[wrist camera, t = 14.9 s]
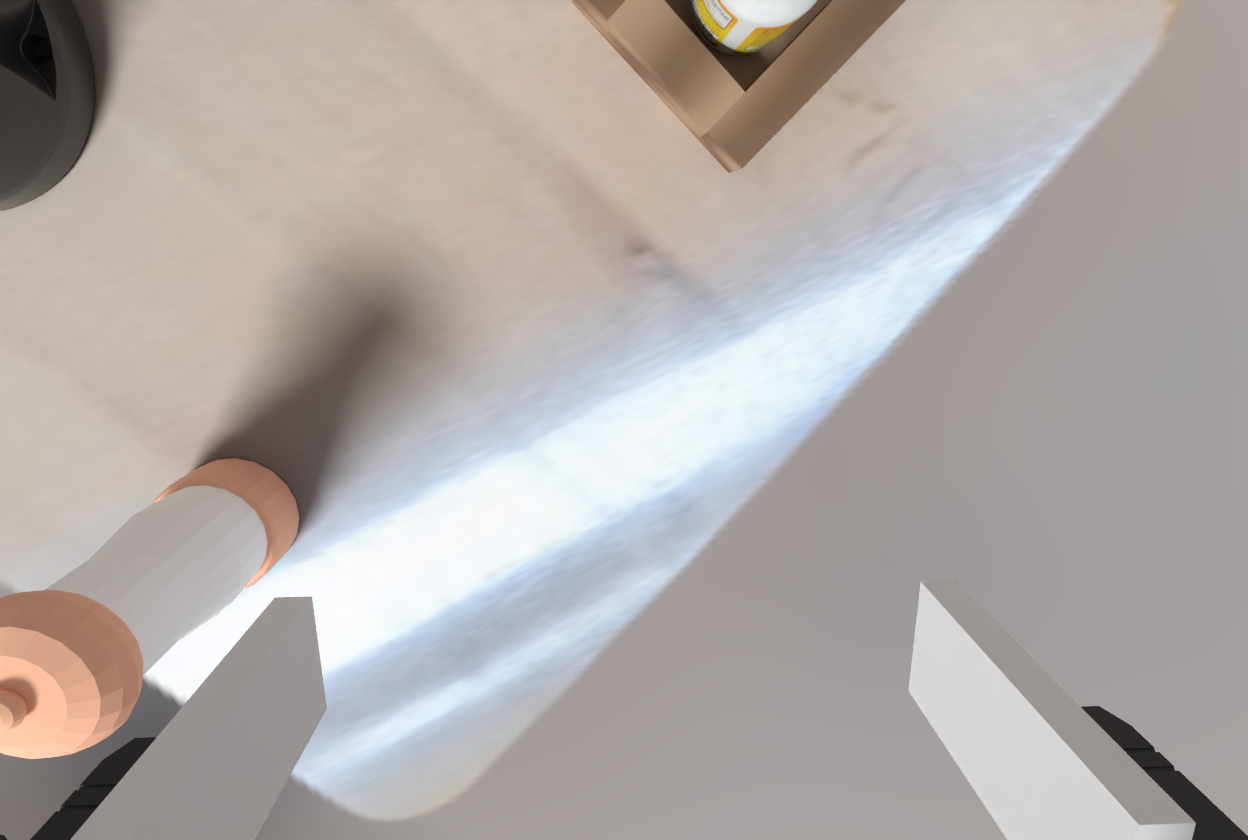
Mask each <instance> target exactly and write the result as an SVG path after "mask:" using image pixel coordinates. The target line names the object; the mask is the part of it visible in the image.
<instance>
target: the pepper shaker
mask: <svg viewBox="0 0 1248 840" xmlns="http://www.w3.org/2000/svg"><path fill="white" fill-rule="evenodd" d="M299 518H300V517H299V512H298V508H297V503H296V500H295V498H294V496H293V495H292V493H291V491H290V489H289V488H288V486H287V484H286V483H285V482H284V481H282V480H281V479H280V478H279V477H278V476H277V475H276V474H275V473H274V472H273V471H271V470H269V469H267V468H265V467H264V466H262V465H260V464H258V463H256V462H252V461H247V460H243V459H238V458H230V459H219V460H215V461H212V462H210V463H208V464H205V465H203V466H201V467H199V468H197V469H195V470H194V471H192V472H191V473H189V474H187V475H186V476H184V477H183V478H181V479H180V480H178V481H176V482H175V483H173V484H172V485H170V486H169V487H168V488H167V489H165V490H164V491H163V492H162V493H161V494H160V495H159V496H158V497H157V498H156V499H155V501H154V503H153V505H151V506H149V507H148V508H146V509H144V510H142V511H141V512H139V513H137V514H136V515H134V516H133V517H131V518H130V519H129V520H128V521H127V522H126V523H125V524H124V525H123V526H122V527H121V528H120V529H119V530H118V531H117V532H116V533H115V534H114V535H113V536H112V537H111V538H110V539H109V540H108V541H107V542H106V543H105V544H104V545H103V546H102V547H101V548H100V549H99V550H98V551H97V552H96V553H95V554H94V555H93V556H92V557H91V558H90V559H89V560H88V561H86V562H85V563H84V564H82V565H81V566H79V567H78V568H76V569H75V570H73V571H72V572H70V573H69V574H68V575H66V576H65V577H63V578H62V579H60V580H59V581H57V582H56V583H54V584H53V585H52V586H50V587H49V588H47V589H46V590H43V591H32V592H21V593H16V594H12V595H8V596H5V597H3V598H1V599H0V752H1V753H4V754H6V755H10V756H16V757H22V758H29V759H36V758H37V759H38V758H48V757H57V756H62V755H68V754H73V753H75V752H78V751H80V750H83V749H85V748H88V747H90V746H93V745H95V744H97V743H98V742H100V741H101V740H103V739H105V738H106V737H108V736H110V735H111V734H112V733H113V732H114V731H115V730H116V729H118V728H119V727H120V726H121V725H122V724H123V723H124V722H126V721H127V719H128V717H129V715H130V713H131V711H132V709H133V707H134V705H135V703H136V701H137V699H138V697H139V694H140V692H141V687H142V679H143V675H144V674H145V673H146V672H147V671H148V670H149V669H150V668H151V667H152V666H153V665H154V664H155V663H156V662H157V661H158V660H159V659H160V658H161V657H162V656H163V655H164V654H165V653H166V652H167V651H168V650H169V649H170V648H171V647H172V646H173V645H174V644H175V643H176V642H177V641H179V640H180V639H182V638H183V637H185V636H186V635H188V634H189V633H191V632H192V631H194V630H195V629H197V628H198V627H199V626H201V625H202V624H204V623H205V622H207V621H208V620H210V619H211V618H213V617H214V616H216V615H217V614H219V613H220V612H221V611H222V610H223V609H224V608H226V607H227V606H228V605H229V604H230V603H231V602H232V601H233V600H234V599H235V598H236V597H237V595H238V594H239V593H240V592H241V591H242V590H243V589H244V588H247V587H249V586H251V585H254V584H255V583H256V582H257V581H258V580H259V579H261V578H262V577H263V576H264V575H265V574H266V573H267V572H268V571H269V570H270V569H271V568H272V567H273V566H274V565H275V564H276V563H277V562H278V560H279V559H280V558H281V557H282V556H283V555H284V554H285V553H286V552H287V551H288V550H289V549H290V547H291V545H292V543H293V541H294V539H295V537H296V536H297V533H298V525H299Z"/></svg>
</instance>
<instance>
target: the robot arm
mask: <svg viewBox="0 0 1248 840" xmlns="http://www.w3.org/2000/svg"><path fill="white" fill-rule="evenodd" d="M93 106H94V75H93V67H92V61H91V56H90V52H89V48H88V44H87V40H86V37H85V34H84V31H83V29H82V26H81V24H80V21H79V19H78V16H77V14H76V12H75V10H74V8H73V6H72V4H71V2H70V0H0V211H2V210H6V209H10V208H14V207H17V206H20V205H23V204H25V203H27V202H30V201H32V200H34V199H35V198H37V197H39V196H41V195H42V194H44V193H45V192H47V191H48V190H49V189H51V188H52V187H53V186H54V185H55V184H57V183H58V182H59V181H60V180H61V179H62V178H63V177H64V175H65V174H66V173H67V172H68V171H69V169H70V168H71V167H72V165H73V164H74V162H75V161H76V159H77V157H78V155H79V154H80V152H81V150H82V148H83V145H84V143H85V140H86V138H87V135H88V132H89V128H90V124H91V120H92V114H93ZM909 692H910V694H911V695H912V697H913V698H914V700H915V701H916V703H917V704H918V706H919V707H920V709H921V710H922V711H923V713H924V715H925V716H926V718H927V719H928V721H929V722H930V724H931V725H932V727H933V728H934V730H935V731H936V733H937V734H938V736H939V737H940V739H941V740H942V742H943V744H944V745H945V747H946V748H947V749H948V751H949V753H950V754H951V756H952V757H953V758H954V760H955V762H956V763H957V765H958V766H959V768H960V769H961V771H962V772H963V773H964V775H965V777H966V778H967V780H968V781H969V783H970V784H971V786H972V787H973V789H974V790H975V792H976V793H977V795H978V796H979V798H980V799H981V801H982V802H983V803H984V805H985V807H986V808H987V810H988V811H989V813H990V814H991V816H992V817H993V819H994V820H995V822H996V823H997V825H998V826H999V828H1000V829H1001V831H1002V832H1003V834H1004V835H1005V837H1006V838H1007V840H1248V836H1247V835H1246V834H1245V833H1244V832H1243V831H1242V830H1241V829H1240V828H1239V827H1238V826H1236V825H1235V824H1234V823H1233V822H1232V821H1231V820H1230V819H1229V818H1228V817H1227V816H1226V815H1225V814H1224V813H1223V812H1222V811H1221V810H1220V809H1218V807H1216V806H1215V805H1214V804H1213V803H1212V802H1211V801H1210V800H1209V799H1208V798H1207V797H1206V796H1205V795H1204V794H1203V793H1202V792H1201V791H1200V790H1198V789H1197V788H1196V787H1195V786H1194V785H1193V784H1192V783H1191V782H1190V781H1189V780H1188V779H1187V778H1186V777H1185V776H1184V775H1183V774H1182V773H1180V772H1179V771H1175V770H1174V766H1173V765H1172V764H1171V763H1170V762H1169V761H1168V760H1167V759H1166V758H1164V756H1163V755H1161V754H1160V753H1159V752H1155V750H1154V747H1153V746H1152V745H1151V744H1150V743H1149V742H1148V741H1147V740H1146V739H1144V738H1143V737H1142V736H1141V735H1140V734H1139V733H1138V732H1137V731H1136V730H1135V729H1134V728H1133V727H1132V726H1131V725H1129V724H1128V723H1126V722H1124V721H1123V720H1121V719H1119V718H1117V717H1116V716H1114V715H1113V714H1111V713H1109V712H1108V711H1106V710H1104V709H1102V708H1101V707H1099V706H1092V707H1090V706H1089V707H1080V706H1079V705H1078V704H1077V703H1076V702H1075V701H1074V700H1073V699H1072V698H1071V697H1070V696H1069V695H1068V694H1067V693H1066V692H1065V691H1064V690H1063V689H1062V688H1061V687H1060V686H1059V685H1058V684H1057V683H1056V682H1055V681H1054V680H1053V679H1052V678H1051V677H1050V676H1049V675H1048V674H1047V673H1046V672H1045V671H1044V670H1043V669H1042V668H1041V667H1040V666H1039V665H1038V664H1037V663H1036V662H1035V661H1034V660H1033V659H1032V658H1031V657H1030V656H1029V655H1028V654H1027V653H1026V652H1025V651H1024V650H1023V649H1022V647H1021V646H1020V645H1019V644H1018V643H1016V641H1014V639H1013V638H1011V636H1010V635H1009V634H1008V633H1006V632H1005V631H1004V629H1003V628H1002V627H1001V626H1000V625H999V624H998V623H997V622H996V621H995V620H994V619H993V618H992V617H991V616H990V615H989V614H988V613H987V612H986V611H985V610H984V609H983V608H982V607H981V606H980V605H979V604H978V603H977V602H976V601H975V600H974V599H973V598H972V597H971V596H970V595H969V594H968V593H967V592H966V591H965V590H964V589H963V588H962V587H961V586H960V585H959V584H958V583H957V582H956V581H934V582H921V585H920V594H919V603H918V612H917V621H916V630H915V638H914V648H913V657H912V665H911V674H910V684H909ZM326 709H327V707H326V699H325V692H324V685H323V677H322V670H321V662H320V655H319V647H318V640H317V633H316V625H315V618H314V610H313V603H312V597H283V598H274V600H273V601H272V602H271V603H270V604H269V605H268V607H267V608H266V609H265V610H264V611H263V613H262V614H261V615H260V616H259V617H258V618H257V620H256V621H255V622H254V623H253V624H252V626H251V627H250V628H249V629H248V630H247V631H246V633H245V634H244V635H243V636H242V637H241V639H240V640H239V641H238V642H237V643H236V644H235V646H234V647H233V648H232V649H231V650H230V652H229V653H228V654H227V655H226V656H225V657H224V659H223V660H222V661H221V662H220V663H219V665H218V666H217V667H216V668H215V669H214V670H213V672H212V673H211V674H210V675H209V676H208V678H207V679H206V680H205V681H204V682H203V683H202V685H201V686H200V687H199V688H198V689H197V691H196V692H195V693H194V694H193V695H192V696H191V698H190V699H189V700H188V701H187V702H186V704H185V705H184V706H183V707H182V708H181V709H180V711H179V712H178V713H177V714H176V715H175V717H174V718H173V719H172V720H171V722H169V724H168V725H167V726H166V727H165V728H164V730H163V731H162V732H161V733H160V734H159V735H158V737H154V738H134V739H133V740H132V741H130V742H129V743H127V744H126V745H124V746H123V747H122V748H120V749H118V750H117V751H115V752H114V753H112V754H111V755H110V756H108V757H107V758H105V759H104V760H103V761H102V762H101V763H100V764H99V765H98V766H97V767H96V768H95V769H94V770H93V772H92V773H91V774H90V775H89V776H88V777H87V778H86V779H85V780H84V781H83V783H82V784H81V785H80V788H79V790H75V791H74V792H73V793H72V795H71V796H70V797H69V798H68V799H67V800H66V801H65V802H64V803H63V805H62V806H61V809H60V811H57V812H55V813H54V814H53V816H51V818H50V819H49V820H48V821H47V822H46V823H45V824H44V825H43V826H42V828H41V829H40V830H39V831H38V832H37V833H36V834H35V835H34V836H33V837H32V838H31V840H255V838H256V836H257V834H258V832H259V831H260V829H261V827H262V825H263V823H264V821H265V820H266V818H267V816H268V814H269V812H270V810H271V809H272V807H273V805H274V803H275V801H276V800H277V798H278V796H279V794H280V792H281V791H282V789H283V787H284V785H285V783H286V781H287V780H288V778H289V776H290V774H291V772H292V771H293V769H294V767H295V765H296V763H297V761H298V760H299V758H300V756H301V754H302V752H303V751H304V749H305V747H306V745H307V743H308V741H309V740H310V738H311V736H312V734H313V732H314V730H315V729H316V727H317V725H318V723H319V721H320V720H321V718H322V716H323V714H324V712H325V710H326ZM0 840H7V839H6V837H5V836H4V835H0Z"/></svg>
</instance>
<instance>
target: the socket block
mask: <svg viewBox="0 0 1248 840" xmlns="http://www.w3.org/2000/svg"><path fill="white" fill-rule="evenodd" d="M904 1H905V0H817V1H816V3H815V4H814V5H813V6H812V7H811V8H810V9H809V10H808V11H807V12H806V13H805V14H804V15H803V16H802V17H800V18H799V19H798V20H797V21H796V22H795V23H793V24H792V25H791V26H790V27H789V28H788V29H786V30H785V31H784V32H783V33H782V34H781V35H780V36H779V37H777V38H776V39H775V40H774V41H773V42H771V43H770V44H769V45H768V46H766V47H764V48H763V49H761V50H758V51H756V52H753V53H750V54H745V55H732V54H727V53H723V52H721V51H719V50H717V49H715V48H714V47H712V46H711V45H709V44H708V43H707V42H706V41H705V40H704V39H703V38H702V37H701V35H700V34H699V32H698V31H697V29H696V27H695V25H694V22H693V20H692V16H691V12H690V6H689V0H572V2H573V4H574V5H575V6H576V7H577V8H578V9H579V10H580V11H581V12H582V13H583V14H584V16H585V17H586V18H587V19H588V20H589V21H590V22H591V23H592V24H593V25H594V26H595V28H596V29H597V30H598V31H599V32H600V33H601V34H602V35H603V36H604V37H605V38H606V40H607V41H608V42H609V43H610V44H611V45H612V46H613V47H614V48H615V49H616V50H617V52H618V53H619V54H620V55H621V56H622V57H623V58H624V59H625V60H626V61H627V62H628V64H629V65H630V66H631V67H632V68H633V69H634V70H635V71H636V72H637V73H638V74H639V75H640V77H641V78H642V79H643V80H644V81H645V82H646V83H647V84H648V85H649V86H650V87H651V89H652V90H653V91H654V92H655V93H656V94H657V95H658V96H659V97H660V98H661V99H662V101H663V102H664V103H665V104H666V105H667V106H668V107H669V108H670V109H671V110H672V111H673V113H674V114H675V115H676V116H677V117H678V118H679V119H680V120H681V121H682V122H683V123H684V125H685V126H686V127H687V128H688V129H689V130H690V131H691V132H692V133H693V134H694V135H695V137H696V138H697V139H698V140H699V141H700V142H701V143H702V144H703V145H704V146H705V147H706V148H707V150H708V151H709V152H710V153H711V154H712V155H713V156H714V157H715V158H716V159H717V160H718V162H719V163H720V164H721V165H722V166H723V167H724V168H725V169H726V170H727V171H728V172H729V173H730V172H732V171H735V170H738V169H741V168H743V167H744V166H745V165H746V164H747V163H748V162H749V161H750V160H751V159H752V158H753V157H754V156H755V155H756V154H757V153H758V152H759V151H760V150H761V149H762V148H763V147H764V145H765V144H766V143H767V142H768V141H769V140H770V139H771V138H772V137H773V136H774V135H775V134H776V133H777V132H778V131H779V130H780V129H781V128H782V127H783V126H784V125H785V124H786V123H787V122H788V121H789V120H790V119H791V118H792V117H793V116H794V115H795V114H796V113H797V112H798V110H799V109H800V108H801V107H802V106H803V105H804V104H805V103H806V102H807V101H808V100H809V99H810V98H811V97H812V96H813V95H814V94H815V93H816V92H817V91H818V90H819V89H820V88H821V87H822V86H823V85H824V84H825V83H826V82H827V81H828V80H829V79H830V78H831V77H832V75H833V74H834V73H835V72H836V71H837V70H838V69H839V68H840V67H841V66H842V65H843V64H844V63H845V62H846V61H847V60H848V59H849V58H850V57H851V56H852V55H853V54H854V53H855V52H856V51H857V50H858V49H859V48H860V47H861V46H862V45H863V44H864V43H865V42H866V40H867V39H868V38H869V37H870V36H871V35H872V34H873V33H874V32H875V31H876V30H877V29H878V28H879V27H880V26H881V25H882V24H883V23H884V22H885V21H886V20H887V19H888V18H889V17H890V16H891V15H892V14H893V13H894V12H895V11H896V10H897V9H898V8H899V6H900V5H901V4H902V3H903V2H904Z"/></svg>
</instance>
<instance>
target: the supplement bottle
mask: <svg viewBox="0 0 1248 840" xmlns="http://www.w3.org/2000/svg"><path fill="white" fill-rule="evenodd" d="M816 1H817V0H689V6H690V12H691V16H692V20H693V22H694V25H695V27H696V29H697V31H698V32H699V34H700V35H701V37H702V38H703V39H704V40H705V41H706V42H707V43H708V44H709V45H711V46H712V47H714V48H715V49H717V50H719V51H721V52H723V53H727V54H732V55H745V54H750V53H753V52H756V51H758V50H761V49H763V48H764V47H766V46H768V45H769V44H770V43H771V42H773V41H774V40H775V39H776V38H777V37H779V36H780V35H781V34H782V33H783V32H784V31H785V30H786V29H788V28H789V27H790V26H791V25H792V24H793V23H795V22H796V21H797V20H798V19H799V18H800V17H802V16H803V15H804V14H805V13H806V12H807V11H808V10H809V9H810V8H811V7H812V6H813V5H814V4H815V3H816Z"/></svg>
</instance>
